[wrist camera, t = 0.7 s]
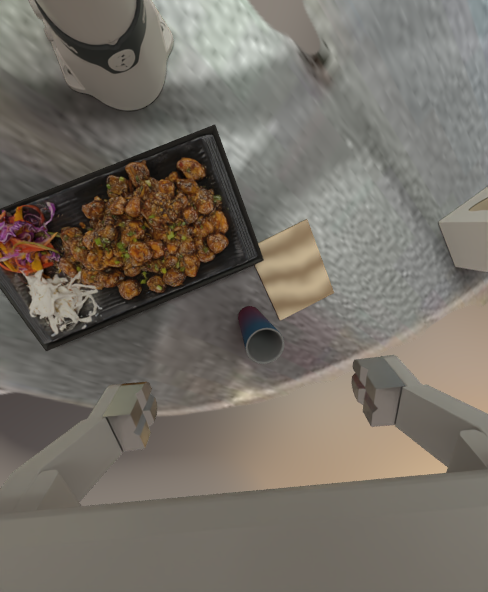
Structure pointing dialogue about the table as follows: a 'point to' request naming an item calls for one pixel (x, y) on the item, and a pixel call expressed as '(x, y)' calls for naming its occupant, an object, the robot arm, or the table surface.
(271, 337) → the cup
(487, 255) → the gable box
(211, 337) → the table surface
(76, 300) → the food platter
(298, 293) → the wooden board
